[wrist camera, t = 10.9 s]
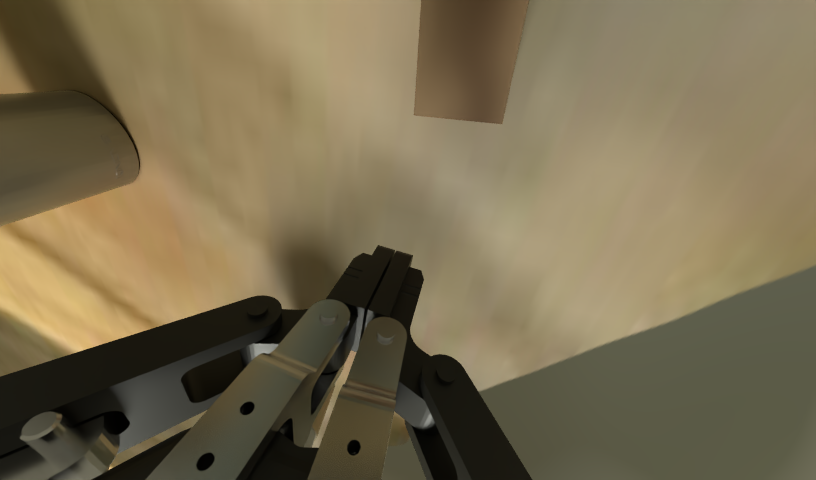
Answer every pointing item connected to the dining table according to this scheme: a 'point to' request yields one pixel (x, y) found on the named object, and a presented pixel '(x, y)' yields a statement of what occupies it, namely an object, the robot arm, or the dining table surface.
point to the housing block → (467, 58)
